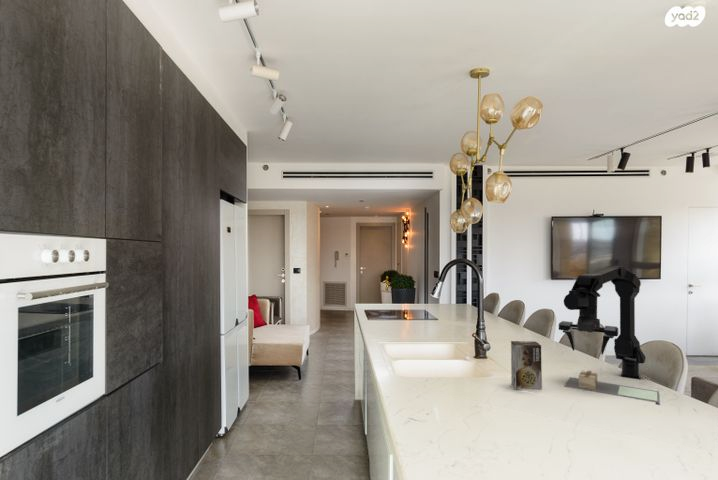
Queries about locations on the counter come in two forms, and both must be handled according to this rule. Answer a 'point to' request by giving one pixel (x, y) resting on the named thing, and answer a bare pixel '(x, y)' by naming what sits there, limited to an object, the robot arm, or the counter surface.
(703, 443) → the counter surface
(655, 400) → the mat
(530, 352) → the coffee box
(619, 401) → the counter surface
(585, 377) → the taped cardboard box
